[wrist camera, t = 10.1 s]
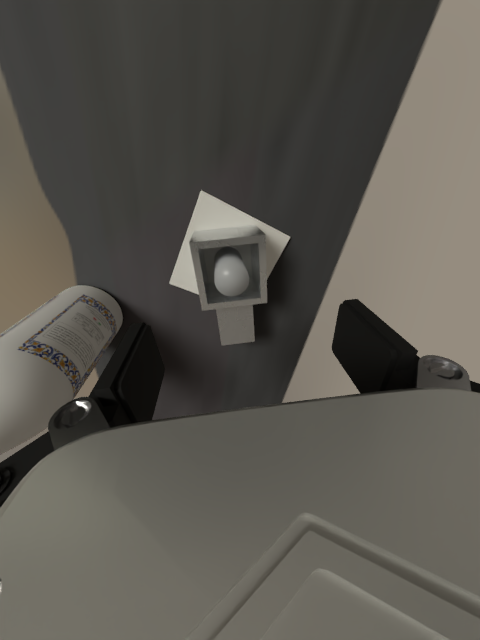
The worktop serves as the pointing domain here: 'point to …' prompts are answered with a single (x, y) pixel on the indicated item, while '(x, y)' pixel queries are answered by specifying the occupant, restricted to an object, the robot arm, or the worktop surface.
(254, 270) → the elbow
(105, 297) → the bath foam
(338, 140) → the worktop surface
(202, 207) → the duct stub
